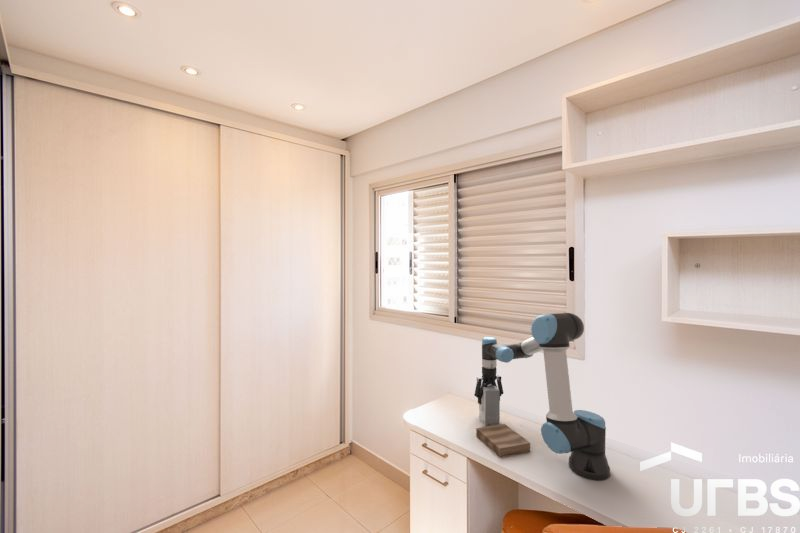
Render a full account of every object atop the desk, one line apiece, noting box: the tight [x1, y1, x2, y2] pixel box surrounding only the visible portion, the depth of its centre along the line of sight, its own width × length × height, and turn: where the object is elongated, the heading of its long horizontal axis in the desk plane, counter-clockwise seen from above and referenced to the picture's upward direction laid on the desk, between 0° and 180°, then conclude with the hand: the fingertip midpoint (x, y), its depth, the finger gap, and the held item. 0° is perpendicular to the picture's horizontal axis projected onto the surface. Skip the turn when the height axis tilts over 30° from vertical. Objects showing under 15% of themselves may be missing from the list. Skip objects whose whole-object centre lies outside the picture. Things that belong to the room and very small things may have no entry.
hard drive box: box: [478, 380, 501, 427], centre depth 189 cm, size 16×8×20 cm, turn 179°
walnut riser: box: [475, 423, 531, 458], centre depth 167 cm, size 20×16×4 cm
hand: (488, 408), depth 189 cm, fingers closed on hard drive box, 9 cm apart
